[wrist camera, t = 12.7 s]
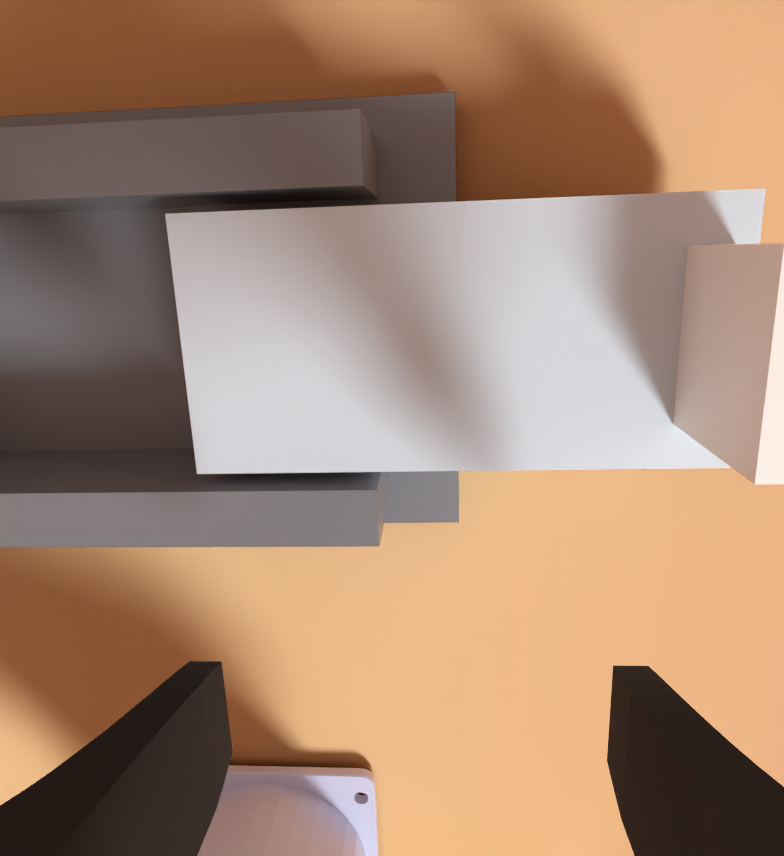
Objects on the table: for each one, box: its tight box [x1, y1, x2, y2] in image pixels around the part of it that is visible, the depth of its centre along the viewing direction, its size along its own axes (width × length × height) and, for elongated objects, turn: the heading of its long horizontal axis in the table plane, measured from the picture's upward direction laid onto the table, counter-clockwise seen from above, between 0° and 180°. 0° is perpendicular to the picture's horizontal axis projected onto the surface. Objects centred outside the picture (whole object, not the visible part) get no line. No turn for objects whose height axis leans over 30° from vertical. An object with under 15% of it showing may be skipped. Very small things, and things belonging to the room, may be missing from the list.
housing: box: [0, 92, 459, 547], centre depth 18 cm, size 12×23×5 cm, turn 92°
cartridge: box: [165, 189, 784, 484], centre depth 14 cm, size 6×13×7 cm, turn 92°
